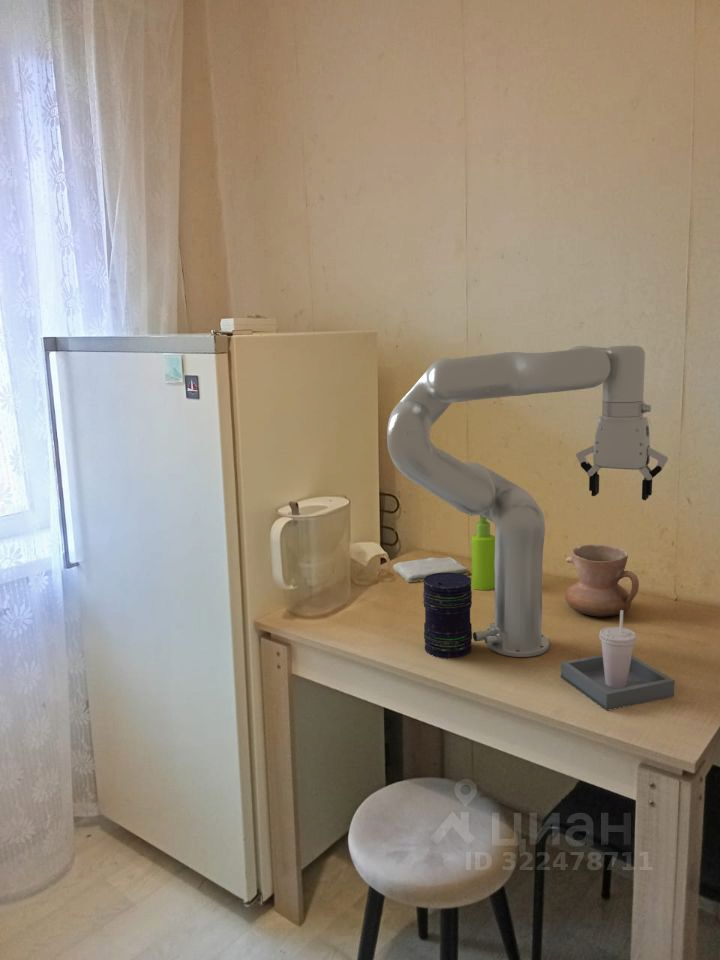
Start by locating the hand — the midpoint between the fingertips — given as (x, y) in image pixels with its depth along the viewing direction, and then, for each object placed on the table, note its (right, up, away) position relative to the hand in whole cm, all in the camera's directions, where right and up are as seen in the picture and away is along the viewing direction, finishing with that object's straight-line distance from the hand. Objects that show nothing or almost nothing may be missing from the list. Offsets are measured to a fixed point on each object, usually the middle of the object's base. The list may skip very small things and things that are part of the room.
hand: (619, 496), depth 154 cm
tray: (-5, -34, -12) cm, 37 cm away
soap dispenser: (-20, -24, +44) cm, 54 cm away
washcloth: (-32, -23, +57) cm, 69 cm away
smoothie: (-5, -34, -12) cm, 36 cm away
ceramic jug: (+4, -27, +25) cm, 37 cm away
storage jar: (-33, -32, +7) cm, 47 cm away
